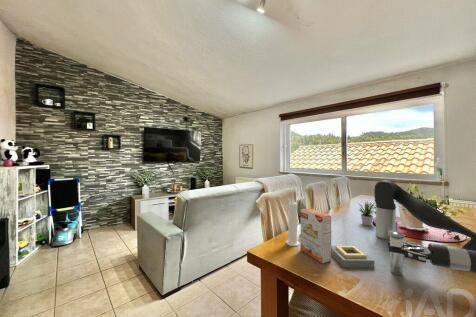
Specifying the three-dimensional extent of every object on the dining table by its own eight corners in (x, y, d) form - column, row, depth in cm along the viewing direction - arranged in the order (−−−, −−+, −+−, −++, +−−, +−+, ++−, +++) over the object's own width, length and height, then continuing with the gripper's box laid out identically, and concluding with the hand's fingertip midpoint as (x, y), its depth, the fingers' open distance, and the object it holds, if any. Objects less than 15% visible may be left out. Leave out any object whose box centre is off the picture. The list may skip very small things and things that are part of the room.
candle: (292, 247, 100) (292, 199, 100) (283, 242, 107) (283, 196, 107) (302, 244, 104) (302, 198, 104) (293, 239, 110) (293, 195, 110)
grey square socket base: (356, 252, 95) (356, 244, 95) (374, 267, 82) (374, 257, 82) (329, 252, 95) (329, 243, 95) (343, 267, 82) (343, 257, 82)
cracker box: (299, 250, 97) (299, 208, 97) (308, 248, 100) (309, 207, 100) (321, 264, 84) (321, 216, 84) (331, 261, 87) (332, 215, 87)
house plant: (386, 228, 128) (386, 203, 128) (365, 228, 128) (365, 203, 128) (371, 221, 142) (372, 199, 142) (352, 221, 142) (353, 199, 142)
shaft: (397, 268, 81) (397, 230, 81) (408, 276, 76) (408, 235, 76) (385, 268, 81) (385, 230, 81) (395, 276, 76) (394, 236, 76)
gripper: (456, 277, 64) (390, 263, 74) (442, 258, 76) (387, 248, 86) (455, 254, 64) (389, 243, 74) (441, 239, 76) (386, 231, 86)
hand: (388, 246), depth 80 cm, fingers closed on shaft, 4 cm apart
